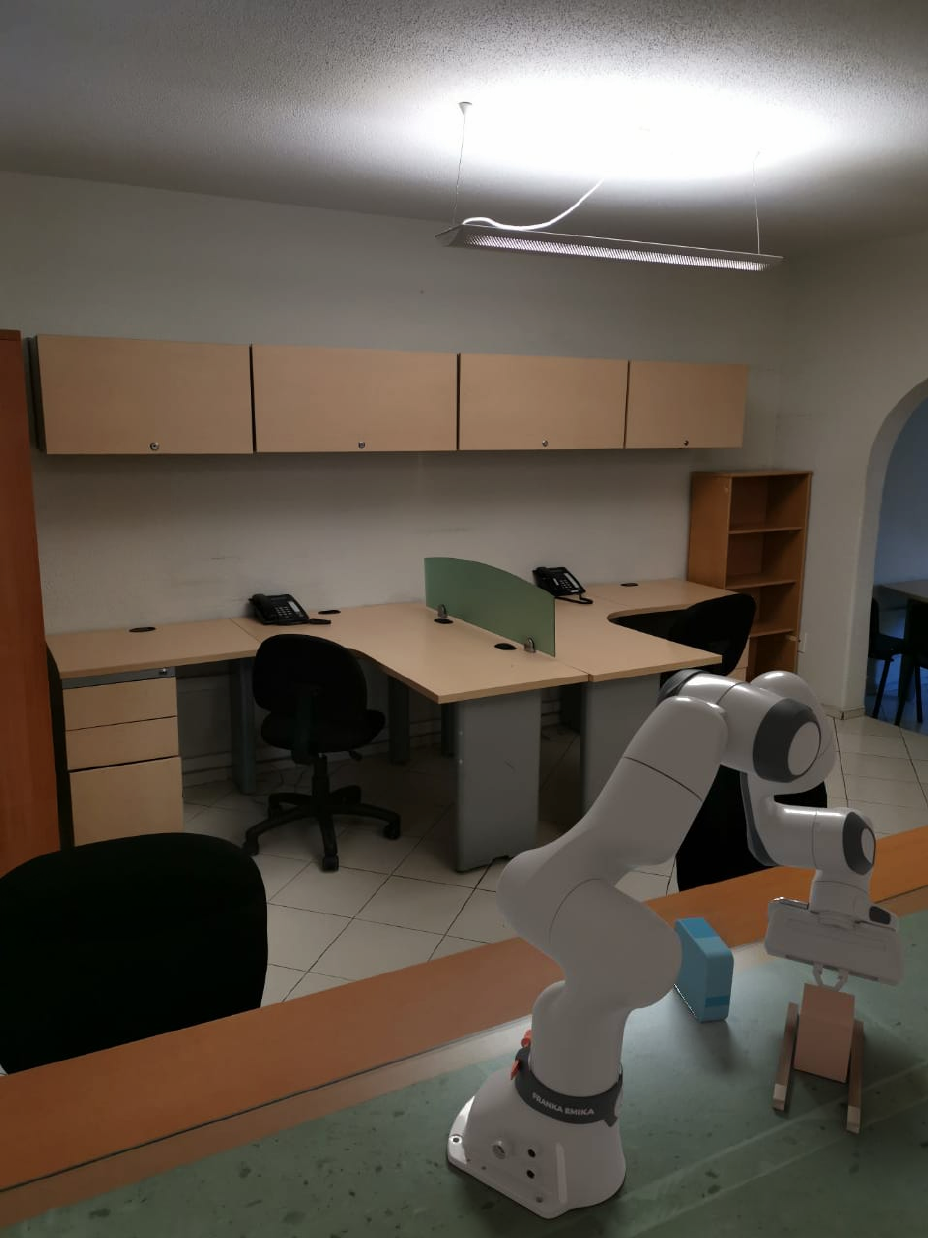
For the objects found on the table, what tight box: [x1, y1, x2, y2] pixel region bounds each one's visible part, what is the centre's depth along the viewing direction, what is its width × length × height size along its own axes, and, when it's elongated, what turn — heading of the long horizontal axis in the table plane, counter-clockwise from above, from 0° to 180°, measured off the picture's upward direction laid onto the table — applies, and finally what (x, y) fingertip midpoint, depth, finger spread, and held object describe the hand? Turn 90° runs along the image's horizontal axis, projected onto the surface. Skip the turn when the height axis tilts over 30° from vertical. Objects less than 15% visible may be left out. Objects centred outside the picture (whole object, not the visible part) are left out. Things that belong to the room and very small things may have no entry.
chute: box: [771, 1001, 865, 1134], centre depth 136 cm, size 11×23×2 cm, turn 156°
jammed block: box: [793, 982, 856, 1084], centre depth 136 cm, size 7×8×9 cm
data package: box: [673, 916, 735, 1023], centre depth 149 cm, size 12×4×12 cm, turn 12°
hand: (827, 998), depth 142 cm, fingers closed
